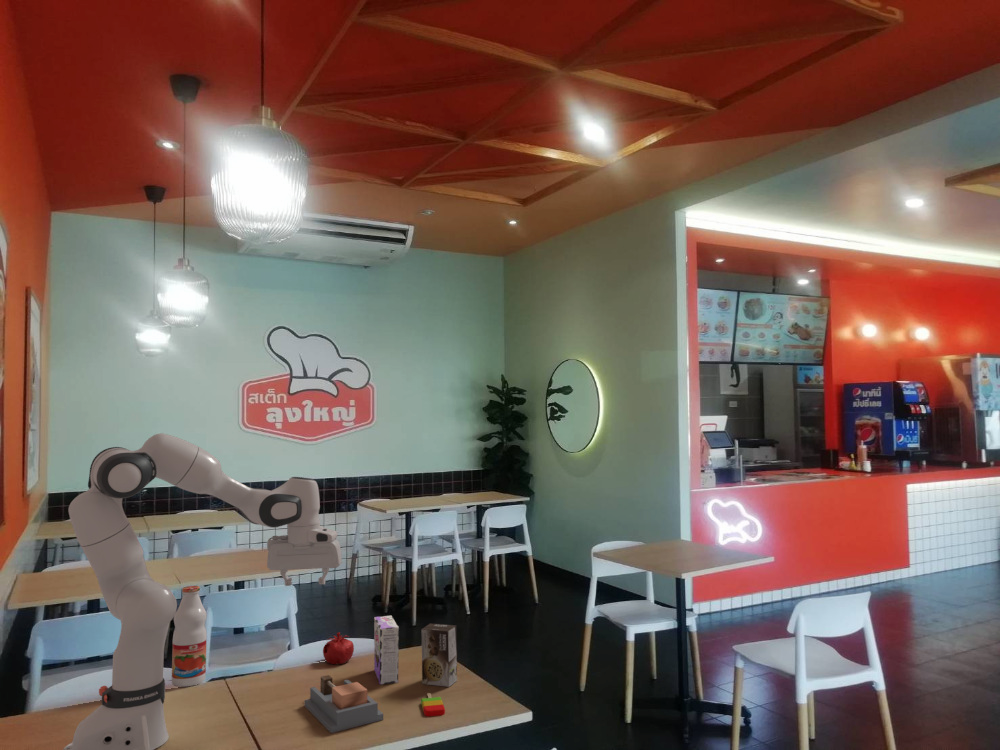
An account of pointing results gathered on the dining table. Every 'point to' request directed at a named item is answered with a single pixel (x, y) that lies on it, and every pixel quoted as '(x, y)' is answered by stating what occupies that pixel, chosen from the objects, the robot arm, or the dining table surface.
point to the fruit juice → (189, 640)
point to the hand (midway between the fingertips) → (305, 584)
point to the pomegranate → (338, 650)
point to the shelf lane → (341, 711)
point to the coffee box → (439, 655)
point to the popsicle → (432, 706)
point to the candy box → (386, 649)
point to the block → (344, 693)
